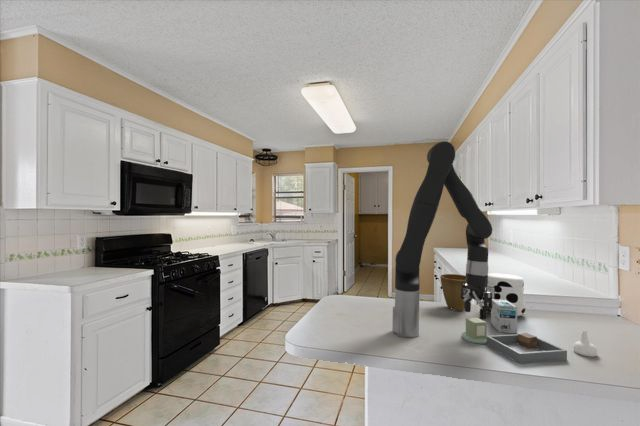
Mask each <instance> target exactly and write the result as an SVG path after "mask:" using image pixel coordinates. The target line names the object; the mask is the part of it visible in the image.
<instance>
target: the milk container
mask: <svg viewBox="0 0 640 426" xmlns="http://www.w3.org/2000/svg"><path fill="white" fill-rule="evenodd" d="M524 285H525V282H524V278H523V277H521V276H518V275H513V274H508V273H507V274H506V273H504V274H503V273H488V286H487V287H485V291H486V292H491V293H492V299H497V300H507V301H509V302H510V303H512V304H513V305H515V306H517V318H519V317H520V318H521V317H523V316H524V315H525V313H526V301H525V298H524V289H525V288H524ZM487 305H488V306H489V302H488V303H487ZM487 313H490V314H491V309H488V310H487Z"/></svg>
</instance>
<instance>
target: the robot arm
mask: <svg viewBox="0 0 640 426" xmlns="http://www.w3.org/2000/svg"><path fill="white" fill-rule="evenodd" d="M456 152H457V151H456V148H455V146H454V145H453V144H452V143H451V142H449V141H439V142H437V143H436V144H434V145H432V147H431V148H430V149H429V150H428V151H427V154H426V159H427V160H426V161H427V162H428V165H427V170H426V173H425V176H424V178H423V180H422V182H421V184H420V186H419V187H418V189H417V192H416V194H415V197H414V199H413V202H412V204H411V208H410V211H409V216H408V220H407V221H408V222H407V224H406V225H407V227H406V231H405V232H406V233H405V235H404V239H403V241H402V244H401V245H400V249H399V250H397V253H396V255H395V260H394V261H395V268H394V269H395V270H394V271H395V272H394V273H395V276H394V277H395V278H394V306H393V307H392V332H393V333H395V335H397V336H398V337H403V338H416V337H418V336H419V334H420V291H421V289H420V284H421V283H420V265H421V261H422V254H423V250H424V246H425V242H426V240H427V237H428V235H429V232H430V231H431V230H430V229H431V227H432V225H433V223H434V221H435V217H436V214H437V212H438V209H439V206H440V201H441V197H442V193H443V190H444V187H445V189H446V190H447V192H448V194H449V196H450V198H451V199H452V201H453V204H454V206H455V208H456V210H457V211H458V213H459V215H460V217H462V218H464V219H465V220H466V222H467V224H466V227H465V239H466V245H467V254H466V255H467V258H466V265H465V276H466V280H465V283H466V284H462V288H461V299H463V300H464V302H465V303H464V310H463V311H464V312H465V313H470V312H472V311H471V309H472V308H471V306H472V300H474V301H475V302H476V303H477V304H478V305H479V319H481V320H483V321H485V320H487V317H488V311H487V310H488V309H492V293H491V292H486V287H487V286H488V274H489V249H488V246H487V245H486V244H485V240H486V239H488V238H490V237H491V236H492V233H493V226H492V224H491V222H490V220H489V219H488V218H487V215H486V214H485V213H484V212H483V211H482V209H481V208H480V207H479V205H478V203H477V201H476V199H475V197H474V195H473V193H472V192H471V191H470V188H469V187H468V186H467V185H466V184H465V182H464V181H463V180H462V179H461V178H460V176H459V174H458V172H456V169H455V167H454V165H453V164H454V162H455V159H456V155H457V154H456ZM464 293H465V296H464ZM488 302H489V306H488V305H487V303H488Z"/></svg>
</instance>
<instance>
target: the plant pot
mask: <svg viewBox="0 0 640 426" xmlns="http://www.w3.org/2000/svg"><path fill="white" fill-rule="evenodd" d="M439 277H440V283H441V289H442V294H443V297H444V300H445V304H446V306H447V308H448V307H449V308H452V309H455V310H454V311H458V310H461V311H464V303H465V302H464V300H463V299H461V288H462V284H466V283H465V280H466V274H465V275H464V274H455V273H445V274H444V273H443V274H440V276H439ZM464 296H465V293H464ZM449 308H448V309H449ZM452 309H451V310H452Z"/></svg>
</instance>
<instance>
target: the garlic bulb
mask: <svg viewBox="0 0 640 426" xmlns="http://www.w3.org/2000/svg"><path fill="white" fill-rule="evenodd" d="M572 347H573V348H572V349H573V351H574V352H575V353H576V354H578V355H581V356H584V357H590V358H592V357H593V358H594V357H597V356H598V353H599V352H598V348H597V347H596V346H595V345H594V344H593V343H591V342H590V341H589V337H588V330H582V333H581V337H580V340H578V341H575V342H574V343H573V345H572Z"/></svg>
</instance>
